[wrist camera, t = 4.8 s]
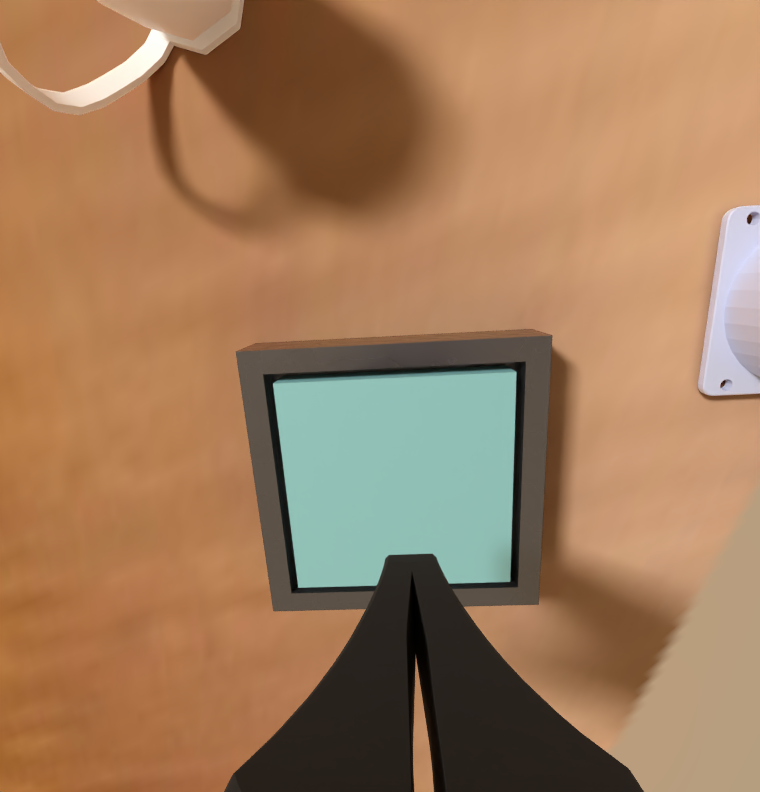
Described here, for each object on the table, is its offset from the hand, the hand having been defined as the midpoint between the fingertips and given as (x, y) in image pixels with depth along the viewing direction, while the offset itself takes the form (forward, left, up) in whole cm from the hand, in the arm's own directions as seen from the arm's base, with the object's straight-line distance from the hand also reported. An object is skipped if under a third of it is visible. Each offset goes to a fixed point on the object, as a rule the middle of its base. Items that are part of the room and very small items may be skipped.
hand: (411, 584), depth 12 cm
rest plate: (0, +1, -8) cm, 8 cm away
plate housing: (0, +1, -9) cm, 9 cm away
